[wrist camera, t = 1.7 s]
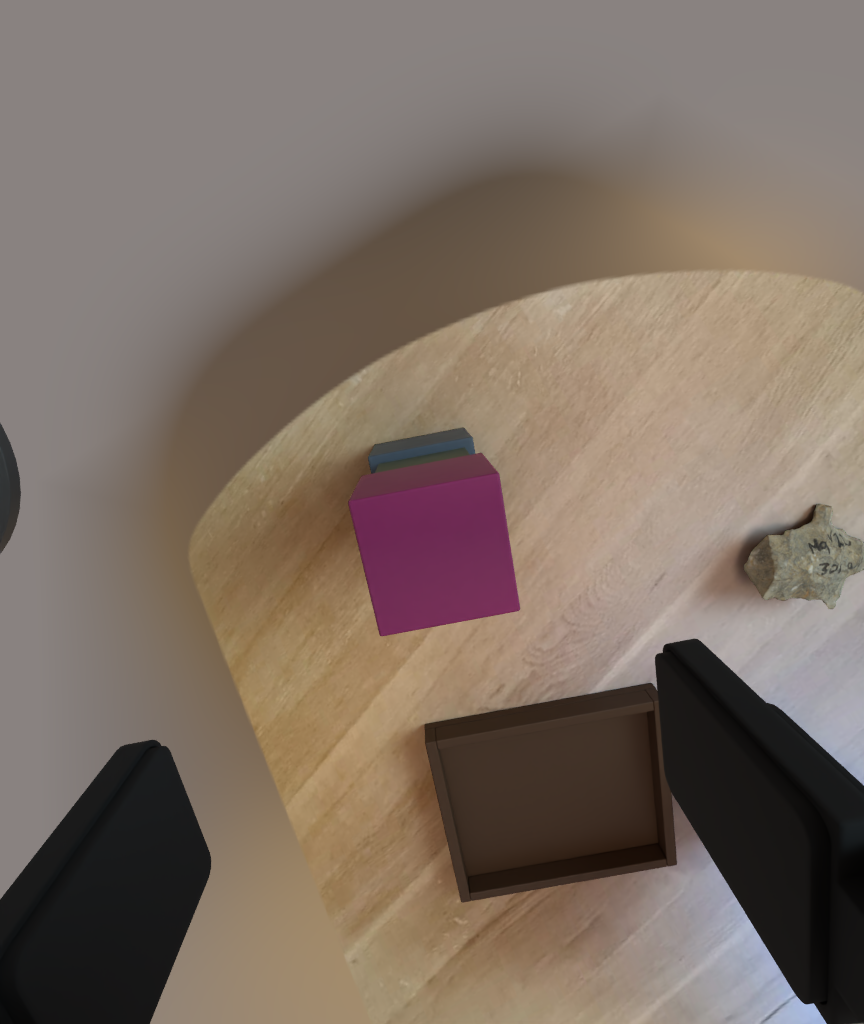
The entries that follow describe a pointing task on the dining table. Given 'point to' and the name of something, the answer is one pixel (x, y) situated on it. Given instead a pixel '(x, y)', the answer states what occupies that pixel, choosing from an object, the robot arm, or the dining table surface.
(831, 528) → the artifact
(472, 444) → the slate block
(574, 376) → the dining table surface
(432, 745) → the tray
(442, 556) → the mulberry block
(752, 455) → the dining table surface
